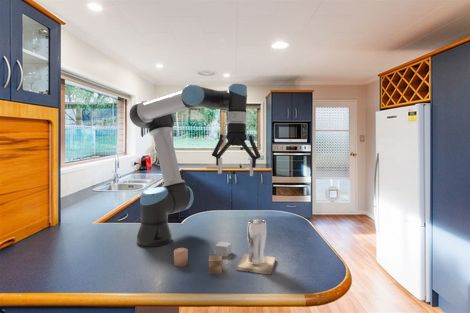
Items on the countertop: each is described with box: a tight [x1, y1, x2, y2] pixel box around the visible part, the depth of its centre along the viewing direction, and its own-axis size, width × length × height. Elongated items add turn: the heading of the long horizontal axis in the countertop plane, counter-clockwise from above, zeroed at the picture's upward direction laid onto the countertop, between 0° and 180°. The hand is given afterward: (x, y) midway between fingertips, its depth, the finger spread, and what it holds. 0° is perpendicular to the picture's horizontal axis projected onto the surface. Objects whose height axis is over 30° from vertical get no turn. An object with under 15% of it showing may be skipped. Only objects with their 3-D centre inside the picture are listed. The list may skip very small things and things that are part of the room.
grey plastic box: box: [214, 240, 233, 258], centre depth 116 cm, size 5×5×4 cm
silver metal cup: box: [246, 218, 267, 265], centre depth 105 cm, size 7×7×15 cm
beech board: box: [236, 253, 276, 275], centre depth 105 cm, size 12×12×1 cm
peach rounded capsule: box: [173, 247, 189, 267], centre depth 106 cm, size 5×5×5 cm
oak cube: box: [208, 255, 223, 275], centre depth 101 cm, size 4×4×4 cm
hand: (235, 174), depth 119 cm, fingers open, 13 cm apart
